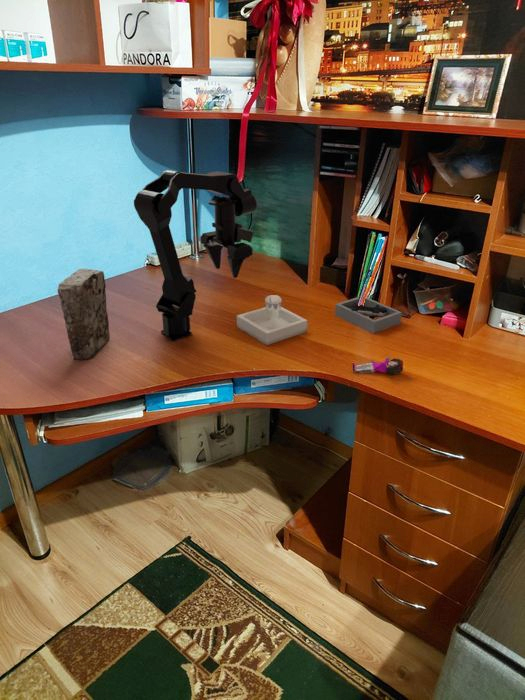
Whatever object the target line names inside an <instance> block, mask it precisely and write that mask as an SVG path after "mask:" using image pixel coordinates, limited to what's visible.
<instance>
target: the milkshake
mask: <svg viewBox="0 0 525 700" xmlns="http://www.w3.org/2000/svg"><path fill="white" fill-rule="evenodd" d="M264 303H265V305H264V306H265V307H266V320H267V327H268V328H270V329H275V328H278V327H279V318H280V309H281V307H282V298H281V297H280V296H279V295H277V294H273V295H271V294H270V295H268V296H266V297H265V299H264Z"/></svg>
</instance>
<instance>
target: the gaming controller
mask: <svg viewBox="0 0 525 700" xmlns="http://www.w3.org/2000/svg"><path fill="white" fill-rule="evenodd" d="M349 309H350V310H351V311H354V312H358V313H360V314H362V315H364V316H367V317H369V318H371V319H373V320H375V319H376V318H382V317H383V316H384V315H385V314H386V313H387V310H386V308H383V307H379V305H376V306H375V307H365V306H358V305H357V303H356V302H354V303H353V304H352V305H351V306H350V308H349Z"/></svg>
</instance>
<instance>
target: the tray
mask: <svg viewBox="0 0 525 700" xmlns="http://www.w3.org/2000/svg"><path fill="white" fill-rule="evenodd" d="M236 327H237V328H238V329H240V330H241V331H243V332H244V333H246V334H248V335H249V336H251V337H252V338H254V339H256V340H258V341H259V342H260V343H262V344H264V345H266V346H269V345H272V344H275V343H278V342H281V341H284V340H286V339H289V338H290V339H291V338H292V337H293V338H294V337H295V336H298V335H302V334H304V333H307V332H308V320H307V319H306V318H304V317H302V316H300V315H298V314H295V313H294V312H292V311H290V310H288V309H287V308H284V307H282V306H281V309H280V318H279V327H278V328H275V329H270V328H268V327H267V320H266V306H265V307H262V308H257V309H255V310H251V311H247V312H244V313H241V314H238V315H236Z"/></svg>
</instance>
